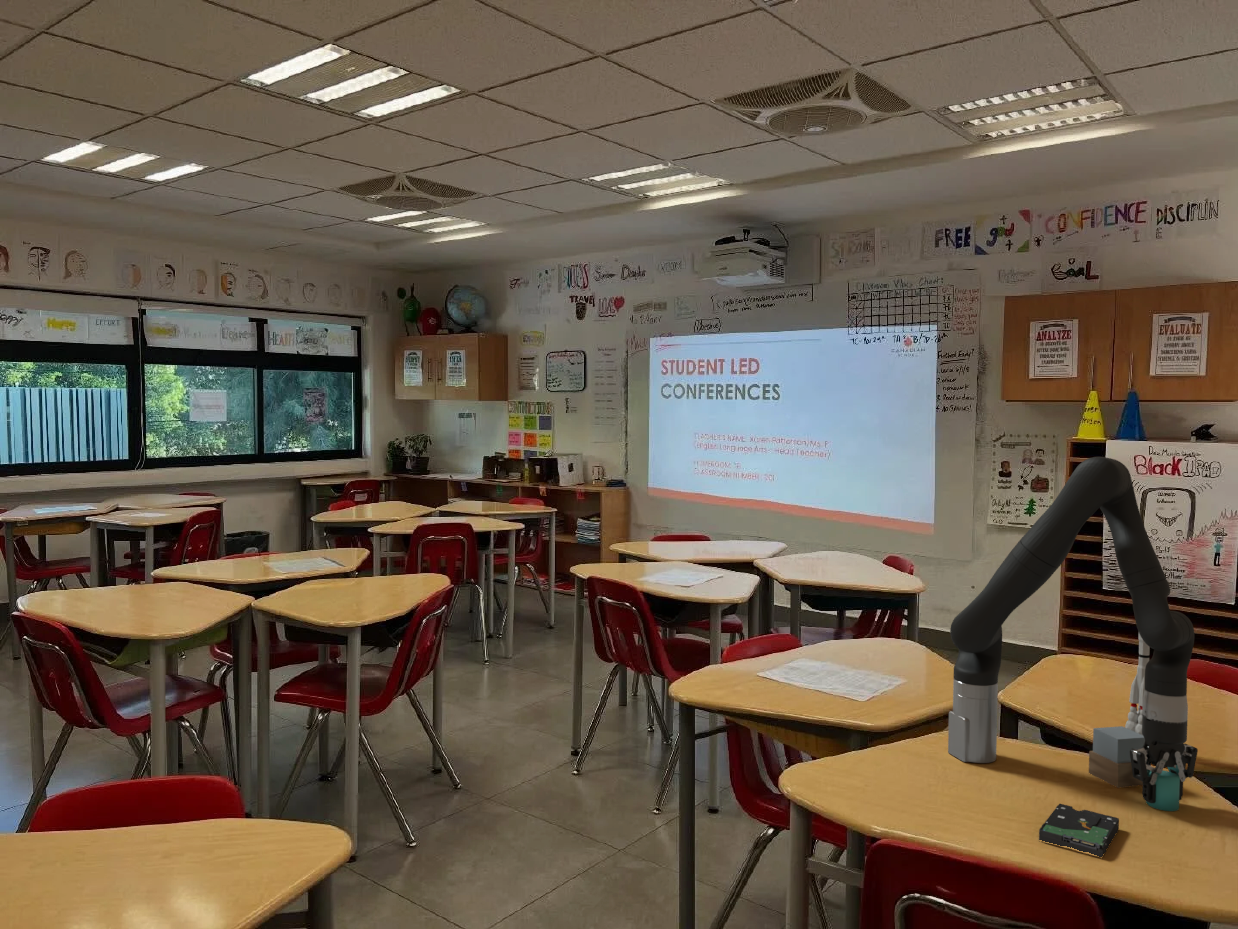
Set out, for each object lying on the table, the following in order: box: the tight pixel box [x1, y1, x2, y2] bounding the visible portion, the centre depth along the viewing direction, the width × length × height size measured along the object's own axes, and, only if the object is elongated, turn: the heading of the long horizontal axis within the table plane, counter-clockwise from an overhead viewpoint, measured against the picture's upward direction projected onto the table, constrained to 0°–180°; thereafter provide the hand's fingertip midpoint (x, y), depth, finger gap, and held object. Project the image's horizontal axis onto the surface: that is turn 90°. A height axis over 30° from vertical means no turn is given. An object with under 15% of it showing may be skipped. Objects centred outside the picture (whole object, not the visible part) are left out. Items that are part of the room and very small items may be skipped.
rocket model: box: [1124, 633, 1151, 735], centre depth 203 cm, size 7×7×30 cm
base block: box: [1088, 750, 1143, 789], centre depth 187 cm, size 8×8×5 cm
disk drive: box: [1038, 803, 1120, 857], centre depth 160 cm, size 10×3×15 cm
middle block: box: [1092, 725, 1145, 763], centre depth 186 cm, size 7×7×5 cm
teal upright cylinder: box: [1145, 769, 1180, 812], centre depth 173 cm, size 6×6×6 cm
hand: (1162, 800), depth 174 cm, fingers closed on teal upright cylinder, 5 cm apart
